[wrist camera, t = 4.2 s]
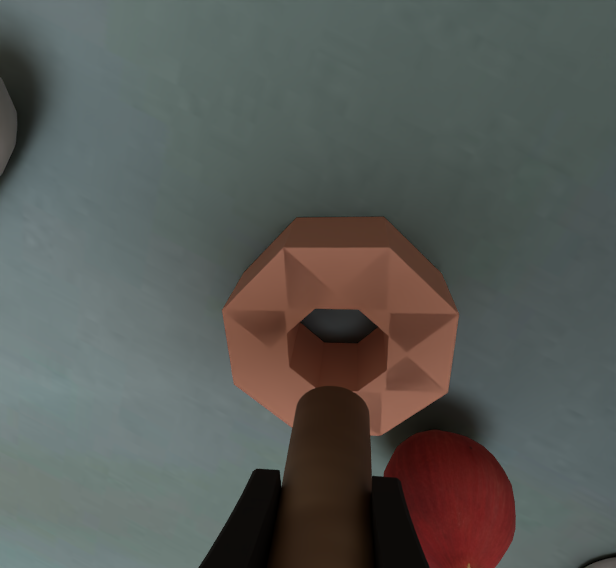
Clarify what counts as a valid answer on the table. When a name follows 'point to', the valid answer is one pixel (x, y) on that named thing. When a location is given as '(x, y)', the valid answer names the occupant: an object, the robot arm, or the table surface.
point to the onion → (455, 499)
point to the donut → (6, 126)
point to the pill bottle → (604, 563)
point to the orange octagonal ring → (342, 295)
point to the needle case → (326, 485)
